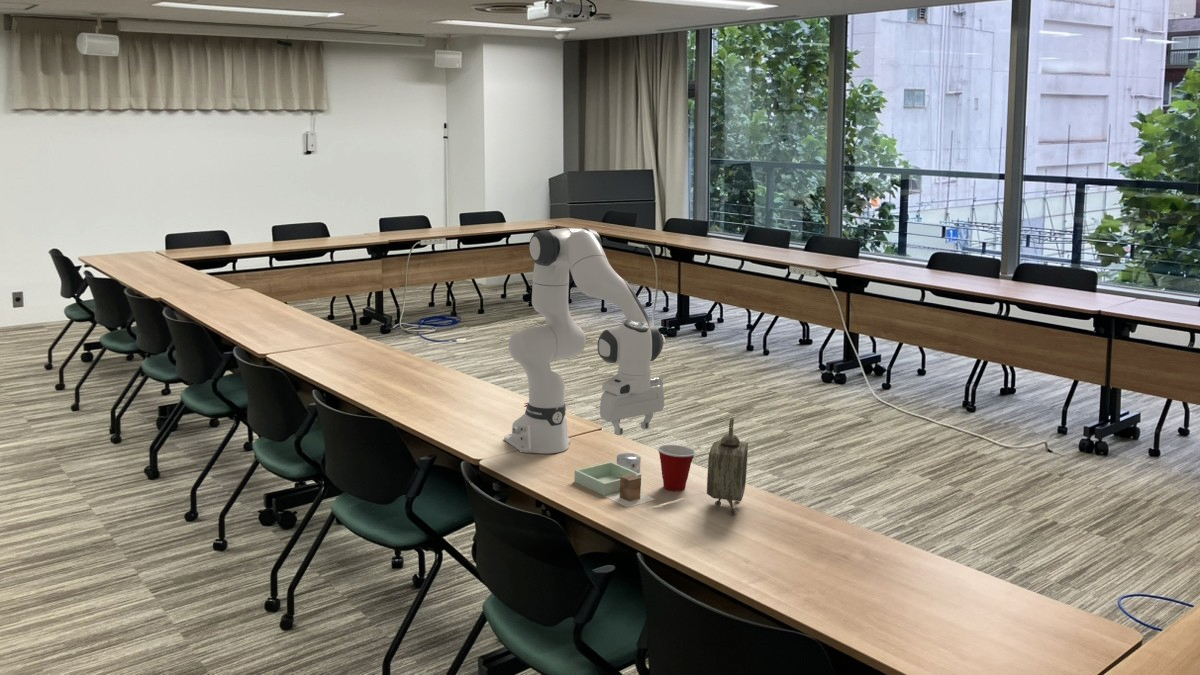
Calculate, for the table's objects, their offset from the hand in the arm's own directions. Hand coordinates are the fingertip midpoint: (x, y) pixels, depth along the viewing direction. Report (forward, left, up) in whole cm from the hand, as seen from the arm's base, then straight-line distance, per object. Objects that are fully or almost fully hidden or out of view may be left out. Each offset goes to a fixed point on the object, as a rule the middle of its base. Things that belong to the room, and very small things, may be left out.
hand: (631, 431), depth 276 cm
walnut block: (0, 0, -19) cm, 19 cm away
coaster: (0, 0, -20) cm, 20 cm away
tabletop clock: (+19, +18, -20) cm, 33 cm away
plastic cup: (+1, +16, -20) cm, 25 cm away
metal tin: (-17, +14, -20) cm, 29 cm away
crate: (-12, +2, -20) cm, 23 cm away
